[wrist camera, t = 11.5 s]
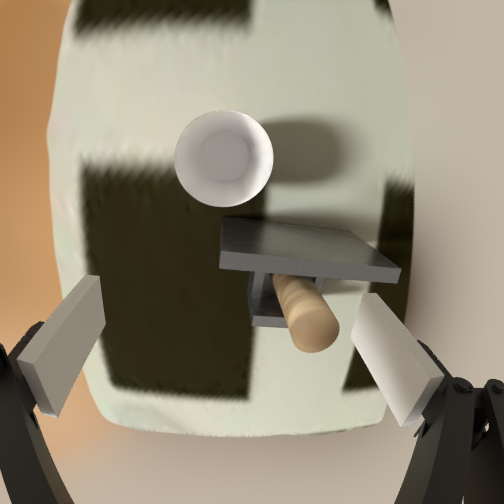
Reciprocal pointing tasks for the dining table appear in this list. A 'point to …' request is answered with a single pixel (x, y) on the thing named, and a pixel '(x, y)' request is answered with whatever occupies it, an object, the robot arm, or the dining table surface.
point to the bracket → (295, 260)
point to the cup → (223, 158)
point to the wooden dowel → (305, 312)
